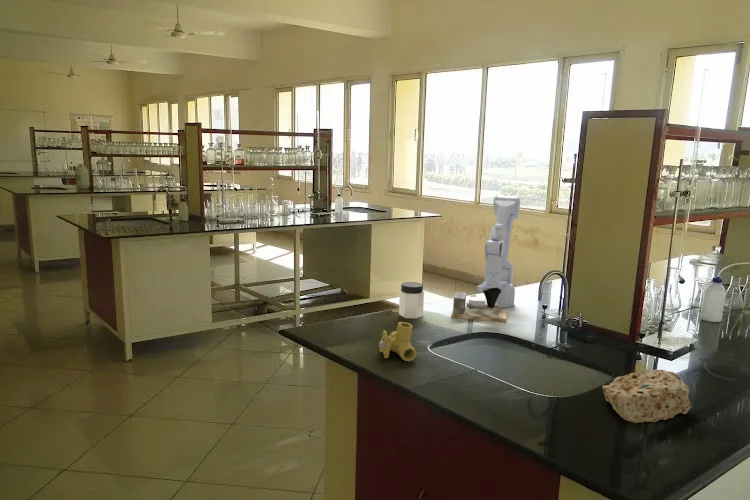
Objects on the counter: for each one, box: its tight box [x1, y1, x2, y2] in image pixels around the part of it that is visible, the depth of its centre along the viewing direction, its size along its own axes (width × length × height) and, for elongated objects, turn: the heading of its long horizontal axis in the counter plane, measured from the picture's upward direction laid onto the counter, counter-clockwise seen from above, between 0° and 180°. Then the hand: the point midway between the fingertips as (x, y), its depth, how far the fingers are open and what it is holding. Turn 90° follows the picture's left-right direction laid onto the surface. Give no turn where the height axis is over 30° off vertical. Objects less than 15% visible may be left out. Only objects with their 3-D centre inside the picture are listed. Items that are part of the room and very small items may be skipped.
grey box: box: [468, 296, 486, 309], centre depth 210 cm, size 6×8×5 cm
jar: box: [398, 281, 425, 320], centre depth 209 cm, size 9×8×12 cm
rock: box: [602, 369, 692, 424], centre depth 138 cm, size 21×14×10 cm
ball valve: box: [378, 321, 417, 362], centre depth 169 cm, size 13×10×10 cm
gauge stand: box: [450, 291, 507, 323], centre depth 211 cm, size 20×12×7 cm, turn 77°
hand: (490, 307), depth 211 cm, fingers closed
